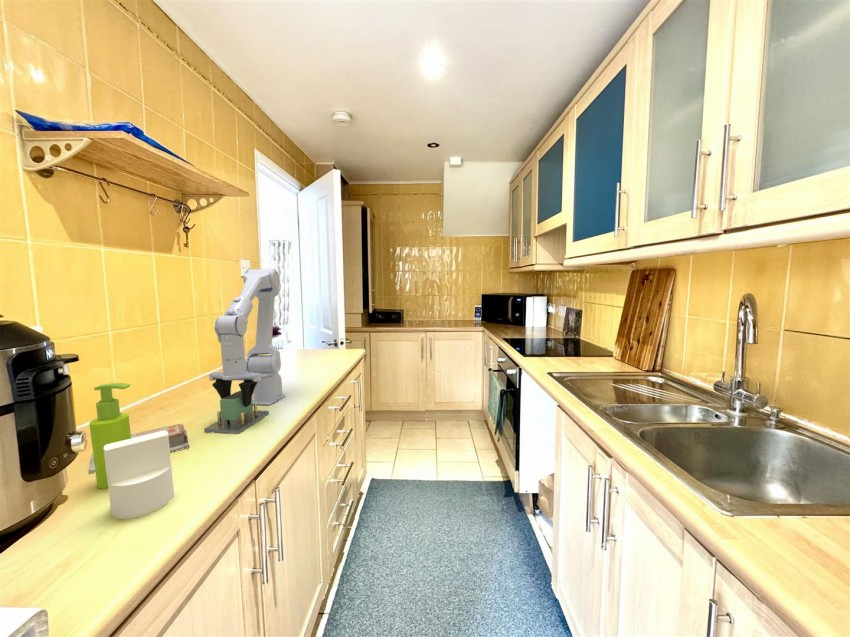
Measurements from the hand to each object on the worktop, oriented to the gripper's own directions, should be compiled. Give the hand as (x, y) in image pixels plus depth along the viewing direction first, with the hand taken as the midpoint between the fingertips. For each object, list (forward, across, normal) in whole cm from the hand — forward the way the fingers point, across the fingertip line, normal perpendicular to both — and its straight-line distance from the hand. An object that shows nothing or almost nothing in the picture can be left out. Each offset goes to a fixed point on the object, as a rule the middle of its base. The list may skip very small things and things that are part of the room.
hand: (237, 405), depth 101 cm
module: (+3, 0, 0) cm, 3 cm away
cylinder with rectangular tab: (+5, +7, -36) cm, 37 cm away
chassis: (+5, 0, 0) cm, 5 cm away
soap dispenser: (+5, -5, -30) cm, 31 cm away
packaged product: (+6, -12, -19) cm, 23 cm away
